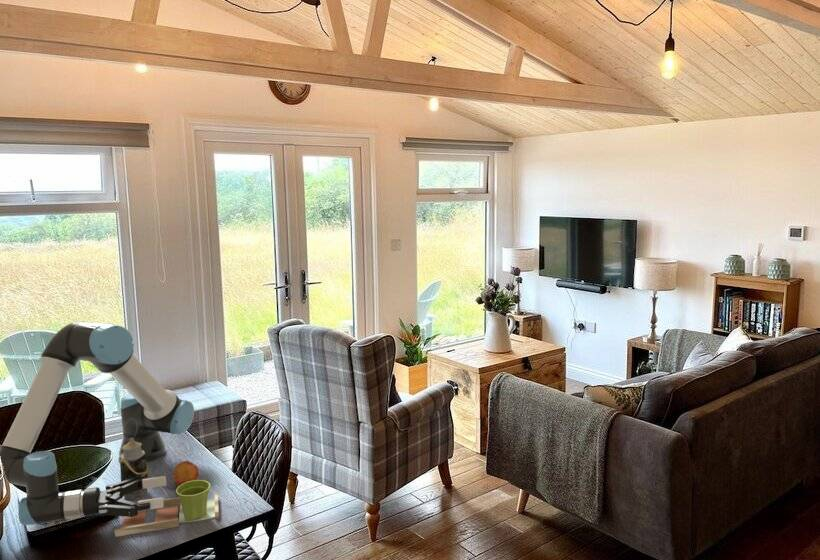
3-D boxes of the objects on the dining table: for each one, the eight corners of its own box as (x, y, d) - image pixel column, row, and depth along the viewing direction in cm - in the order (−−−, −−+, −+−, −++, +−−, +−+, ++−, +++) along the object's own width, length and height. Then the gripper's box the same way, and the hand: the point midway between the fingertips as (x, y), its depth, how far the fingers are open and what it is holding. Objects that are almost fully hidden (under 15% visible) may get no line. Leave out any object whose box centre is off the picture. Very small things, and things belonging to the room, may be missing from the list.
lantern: (133, 486, 200) (127, 412, 196) (155, 488, 199) (150, 414, 195) (115, 500, 192) (109, 423, 188) (139, 502, 190) (133, 424, 186)
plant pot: (200, 525, 176) (198, 497, 175) (171, 521, 179) (169, 493, 177) (218, 509, 185) (216, 481, 184) (190, 505, 188) (188, 478, 186)
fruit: (205, 482, 203) (203, 459, 201) (186, 494, 195) (185, 470, 194) (186, 478, 206) (185, 455, 205) (168, 489, 199) (166, 465, 197)
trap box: (121, 511, 185) (121, 505, 185) (218, 497, 193) (217, 491, 193) (115, 536, 172) (114, 530, 171) (218, 520, 180) (218, 513, 180)
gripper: (92, 494, 187) (167, 483, 193) (76, 539, 163) (162, 525, 170) (90, 471, 186) (166, 461, 192) (73, 512, 162) (161, 499, 169)
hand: (164, 491), depth 181 cm, fingers open, 13 cm apart
